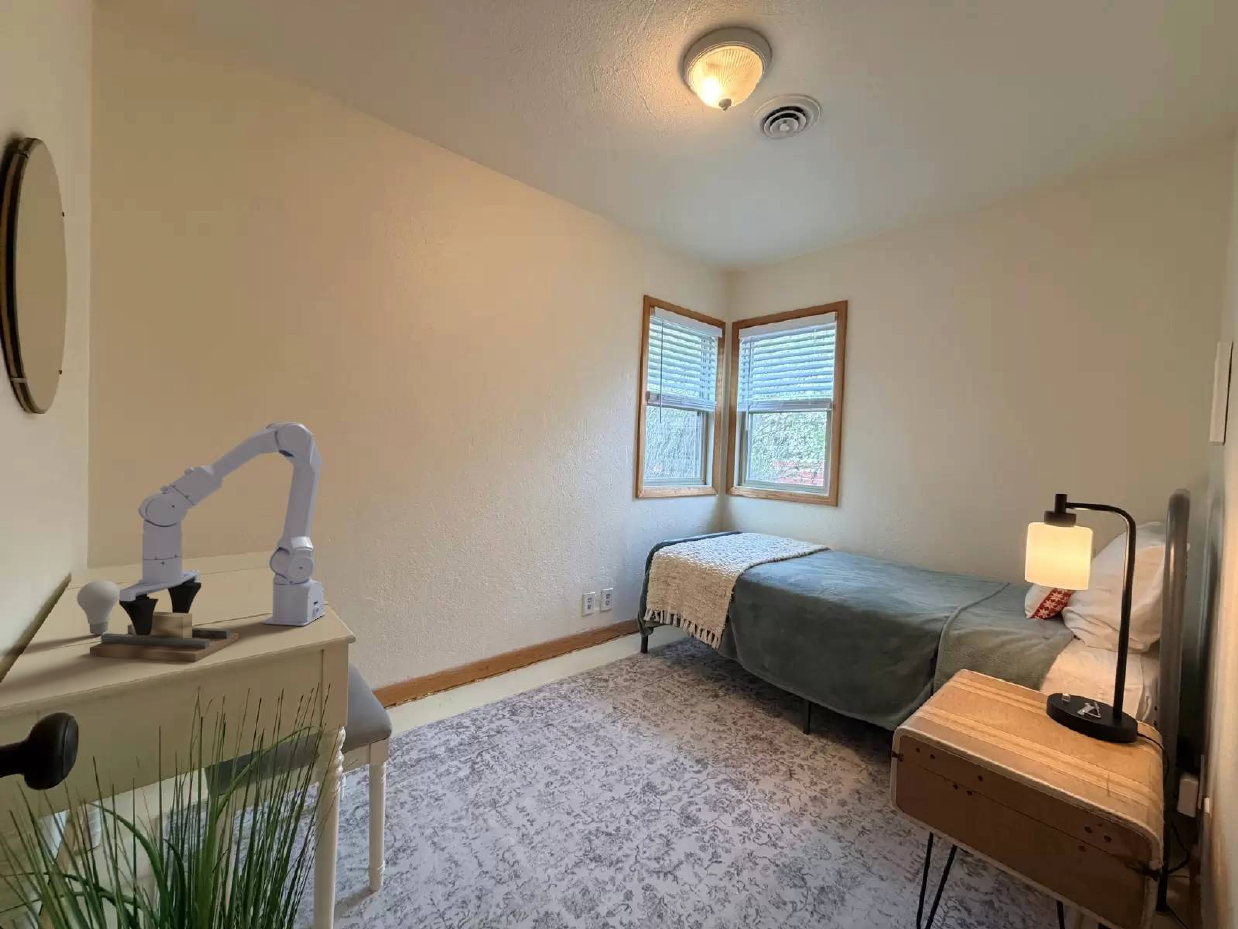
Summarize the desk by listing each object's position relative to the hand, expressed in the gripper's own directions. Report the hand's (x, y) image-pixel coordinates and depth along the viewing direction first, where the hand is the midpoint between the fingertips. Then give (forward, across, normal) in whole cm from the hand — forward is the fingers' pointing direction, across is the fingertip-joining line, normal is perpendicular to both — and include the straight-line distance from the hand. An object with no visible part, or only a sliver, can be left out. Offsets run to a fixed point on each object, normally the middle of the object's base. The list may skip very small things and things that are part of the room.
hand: (162, 627), depth 99 cm
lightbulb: (+4, -4, -17) cm, 18 cm away
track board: (+4, 0, +1) cm, 4 cm away
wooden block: (+2, 0, 0) cm, 2 cm away
